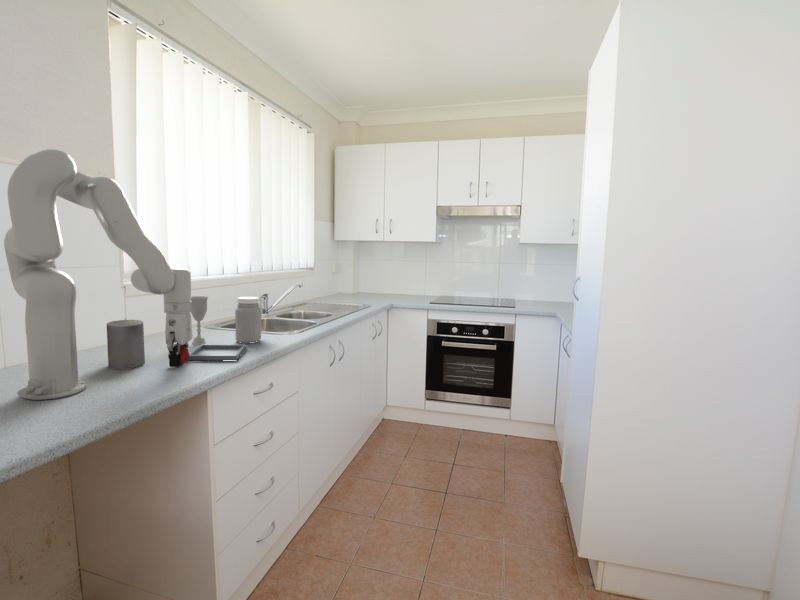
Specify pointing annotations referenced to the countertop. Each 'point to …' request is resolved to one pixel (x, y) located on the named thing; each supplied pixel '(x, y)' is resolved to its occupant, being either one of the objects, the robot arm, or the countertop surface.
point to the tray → (216, 352)
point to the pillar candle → (125, 344)
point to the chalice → (198, 315)
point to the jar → (248, 320)
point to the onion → (183, 354)
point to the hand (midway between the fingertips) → (179, 363)
